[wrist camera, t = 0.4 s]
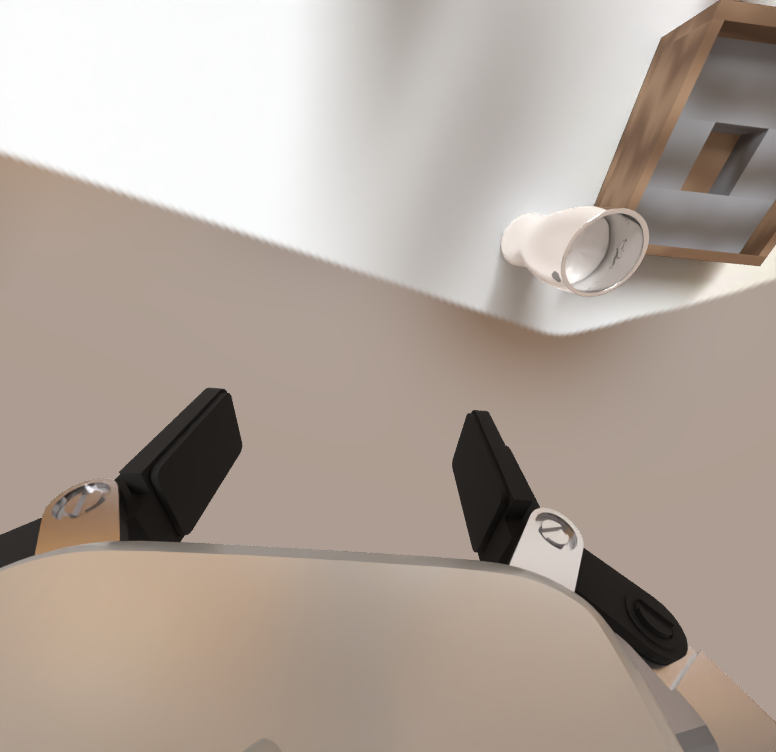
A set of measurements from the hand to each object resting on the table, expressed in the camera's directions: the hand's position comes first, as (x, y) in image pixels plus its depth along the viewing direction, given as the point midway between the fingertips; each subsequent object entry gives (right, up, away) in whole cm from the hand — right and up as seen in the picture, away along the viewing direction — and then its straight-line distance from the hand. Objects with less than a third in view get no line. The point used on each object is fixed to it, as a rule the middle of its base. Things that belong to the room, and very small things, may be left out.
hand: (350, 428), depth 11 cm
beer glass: (+19, +19, +24) cm, 36 cm away
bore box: (+36, +26, +20) cm, 48 cm away
